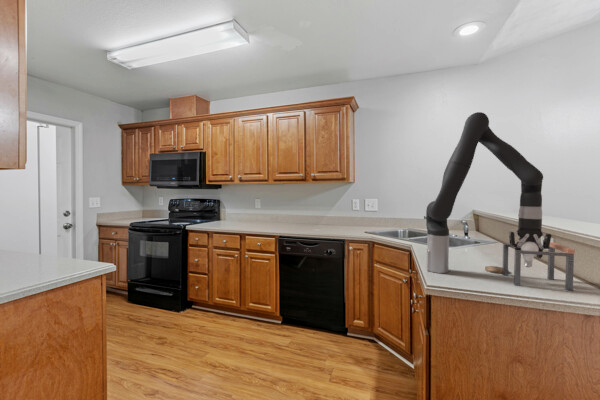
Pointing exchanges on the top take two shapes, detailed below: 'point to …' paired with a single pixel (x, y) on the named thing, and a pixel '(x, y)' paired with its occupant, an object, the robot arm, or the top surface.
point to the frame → (551, 256)
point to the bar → (562, 248)
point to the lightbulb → (529, 257)
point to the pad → (494, 269)
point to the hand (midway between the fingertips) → (528, 257)
